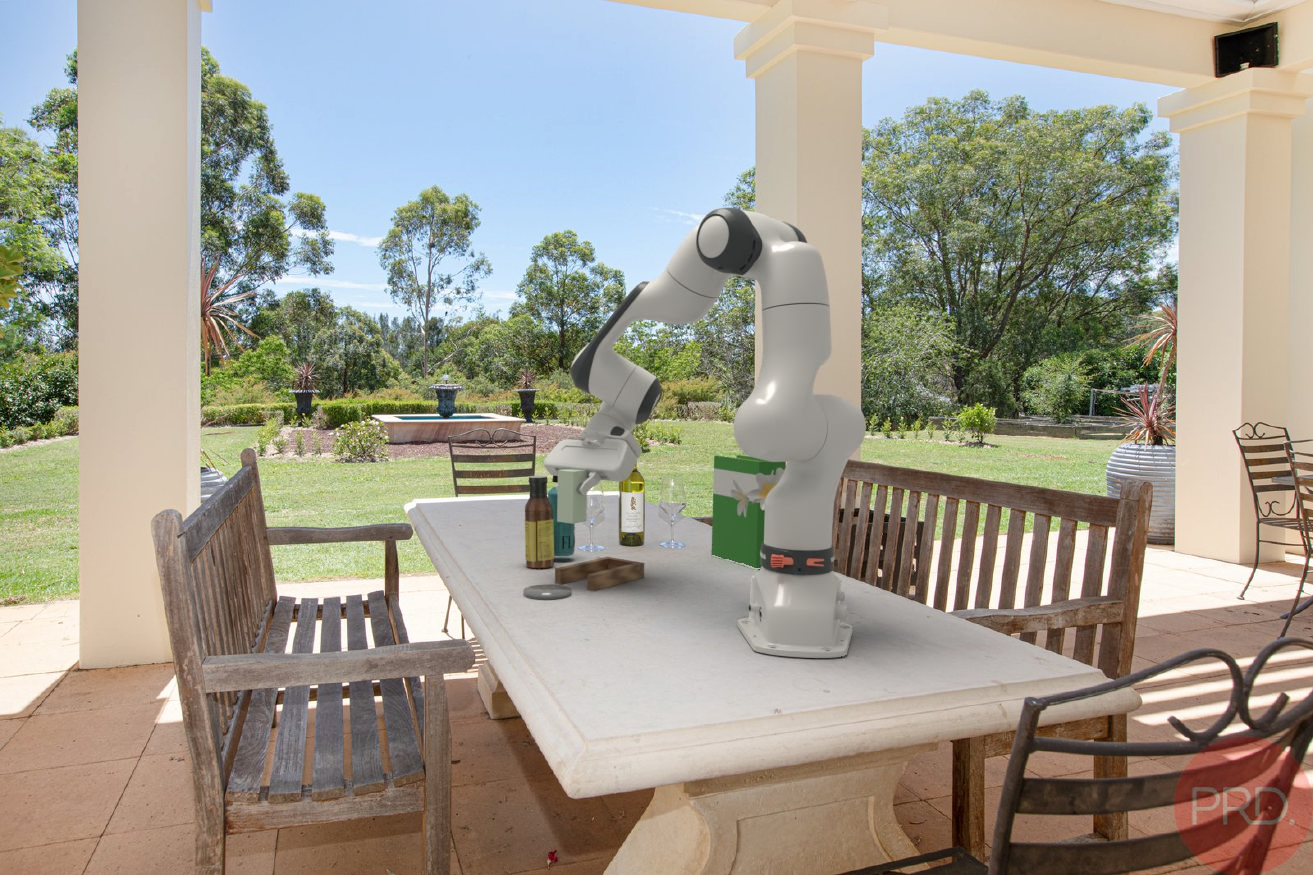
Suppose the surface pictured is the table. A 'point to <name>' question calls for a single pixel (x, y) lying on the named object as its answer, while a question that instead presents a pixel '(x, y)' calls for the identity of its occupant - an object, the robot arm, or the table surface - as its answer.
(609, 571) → the channel
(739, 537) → the green gift bag
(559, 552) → the beverage bottle
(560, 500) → the block
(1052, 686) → the table surface
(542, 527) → the sauce bottle
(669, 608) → the table surface
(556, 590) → the coaster
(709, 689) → the table surface
